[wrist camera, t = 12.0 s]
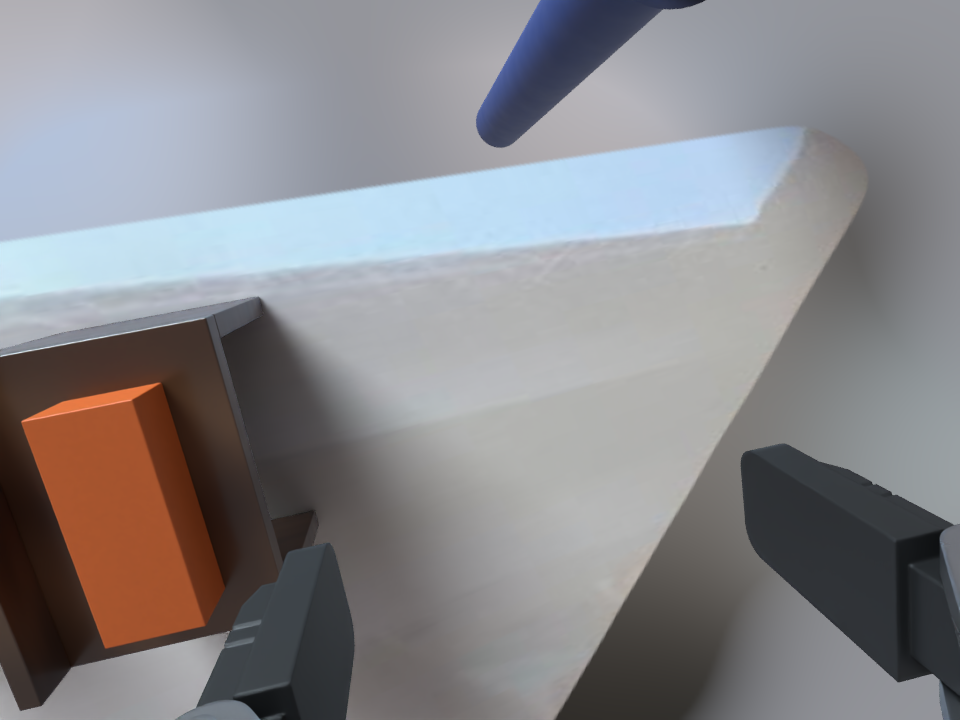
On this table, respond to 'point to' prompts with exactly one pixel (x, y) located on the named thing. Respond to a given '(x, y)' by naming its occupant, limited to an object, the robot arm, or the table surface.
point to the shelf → (210, 460)
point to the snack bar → (128, 512)
